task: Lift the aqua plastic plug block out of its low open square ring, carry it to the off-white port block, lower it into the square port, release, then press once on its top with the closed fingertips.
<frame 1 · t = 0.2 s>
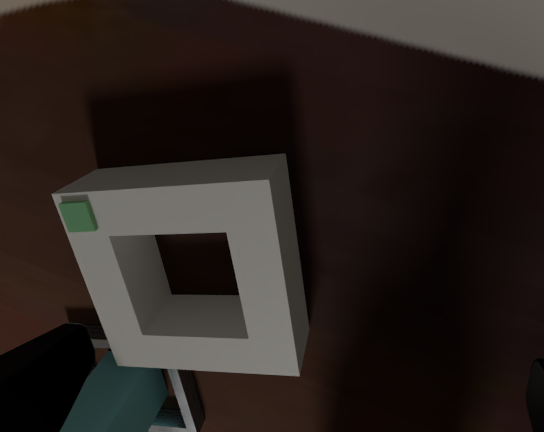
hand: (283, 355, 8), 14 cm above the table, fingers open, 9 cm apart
open square ring: (138, 372, 32), on the table
port: (206, 251, 25), on the table
plug: (138, 372, 32), resting in open square ring
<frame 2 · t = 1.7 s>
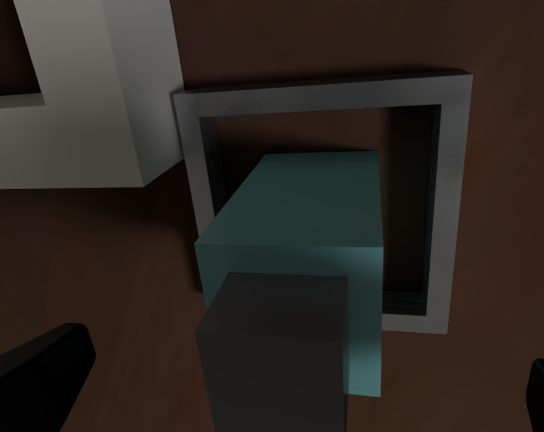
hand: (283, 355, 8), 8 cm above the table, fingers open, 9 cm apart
open square ring: (322, 204, 16), on the table
plug: (322, 203, 16), resting in open square ring
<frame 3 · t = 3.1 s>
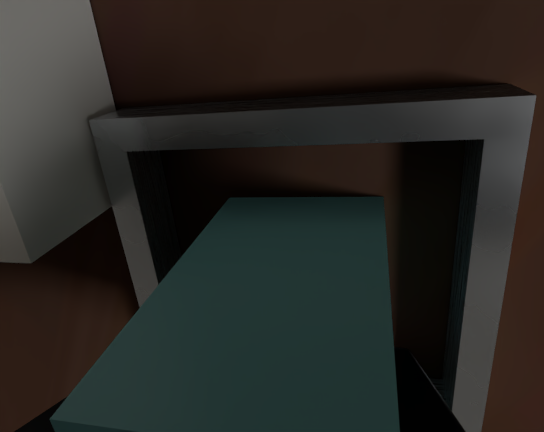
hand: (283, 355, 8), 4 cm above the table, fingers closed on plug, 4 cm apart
open square ring: (307, 264, 11), on the table
plug: (307, 264, 11), resting in open square ring, touching gripper
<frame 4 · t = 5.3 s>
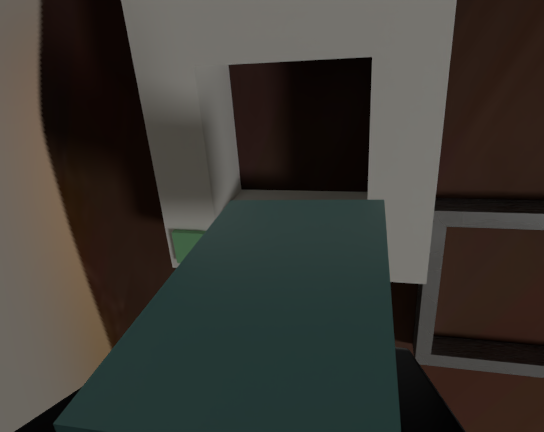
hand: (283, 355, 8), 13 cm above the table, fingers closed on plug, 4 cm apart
open square ring: (514, 283, 21), on the table
port: (299, 127, 20), on the table
plug: (308, 266, 11), point 10 cm above the table, touching gripper
when the fingers open (5 cm above the table, at t = 7.6 s): plug drops 2 cm, resting in port.
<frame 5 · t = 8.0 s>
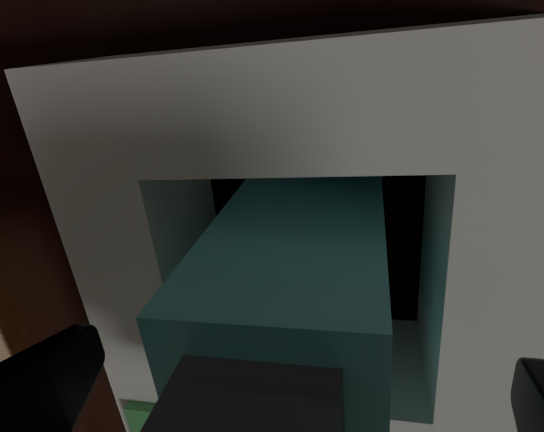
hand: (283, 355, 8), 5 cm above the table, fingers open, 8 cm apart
port: (314, 232, 13), on the table
plug: (315, 233, 13), resting in port
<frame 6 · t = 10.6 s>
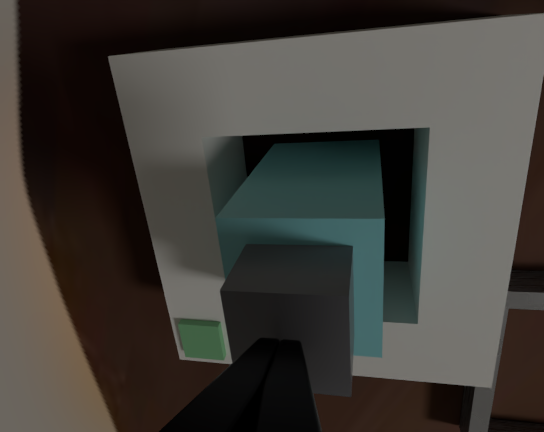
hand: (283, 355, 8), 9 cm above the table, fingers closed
port: (326, 189, 17), on the table
plug: (327, 190, 17), resting in port
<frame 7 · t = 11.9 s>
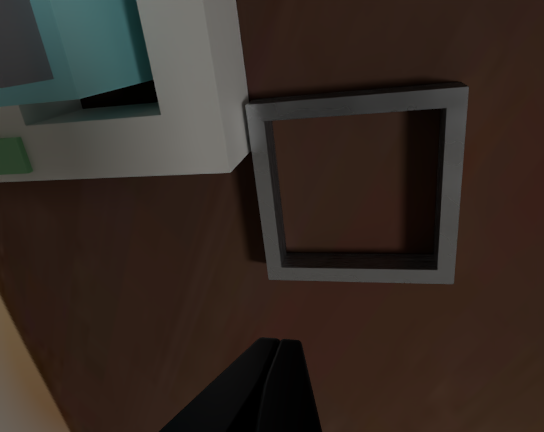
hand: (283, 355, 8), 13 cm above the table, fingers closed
open square ring: (354, 186, 20), on the table
port: (121, 33, 19), on the table
plug: (123, 34, 19), resting in port
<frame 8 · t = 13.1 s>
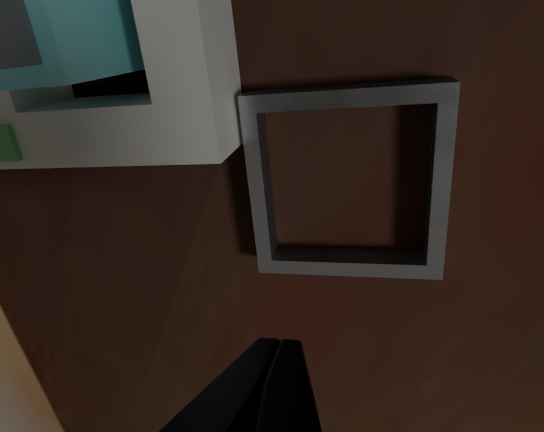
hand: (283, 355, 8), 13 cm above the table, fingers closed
open square ring: (346, 180, 20), on the table
port: (114, 22, 19), on the table
plug: (116, 23, 19), resting in port
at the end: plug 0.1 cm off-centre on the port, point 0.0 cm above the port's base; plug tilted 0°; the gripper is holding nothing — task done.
